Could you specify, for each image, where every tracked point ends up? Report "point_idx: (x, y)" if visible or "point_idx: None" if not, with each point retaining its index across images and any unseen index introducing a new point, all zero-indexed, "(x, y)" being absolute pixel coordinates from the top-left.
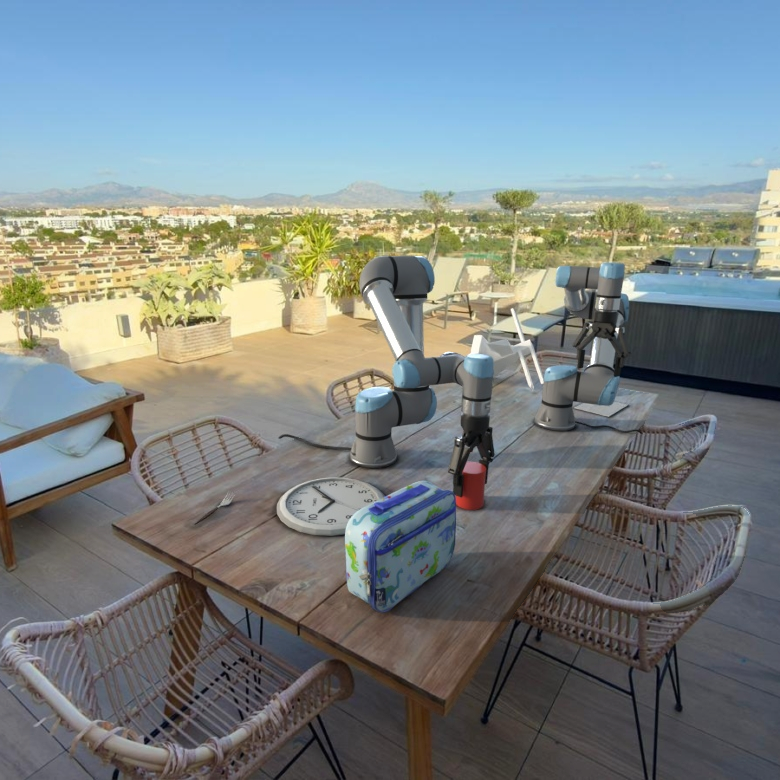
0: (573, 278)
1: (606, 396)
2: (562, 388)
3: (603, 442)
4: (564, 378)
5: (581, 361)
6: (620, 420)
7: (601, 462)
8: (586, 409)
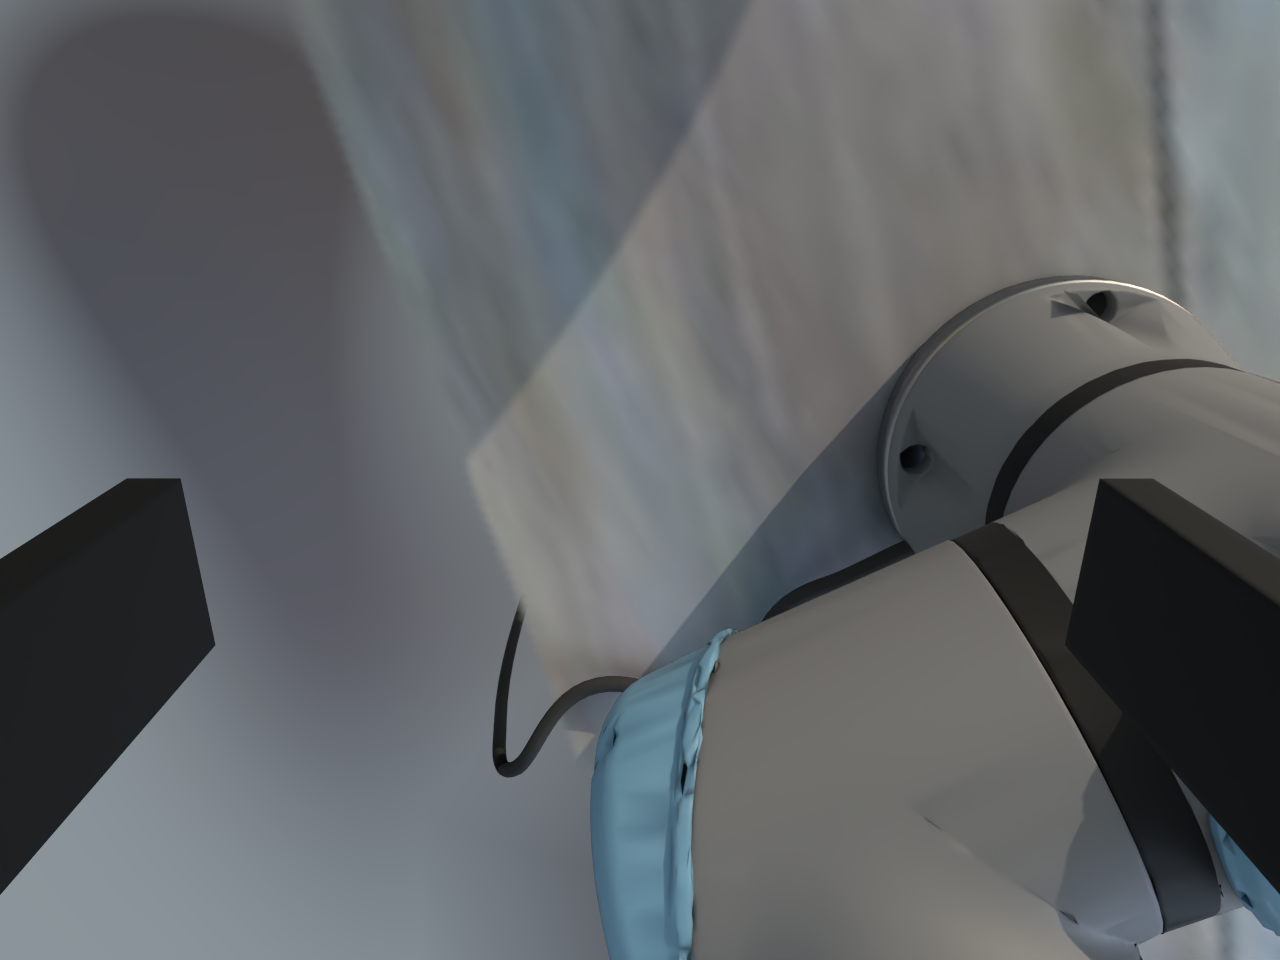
0: None
1: (654, 686)
2: (1180, 477)
3: (575, 411)
4: (1275, 555)
5: (1192, 643)
6: None
7: (348, 7)
8: None
